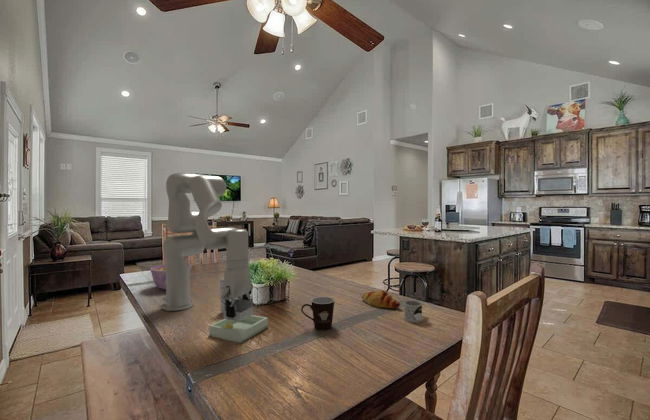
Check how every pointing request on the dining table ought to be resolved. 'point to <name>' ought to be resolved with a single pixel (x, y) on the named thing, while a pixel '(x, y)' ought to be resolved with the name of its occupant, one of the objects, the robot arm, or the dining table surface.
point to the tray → (239, 328)
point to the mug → (413, 311)
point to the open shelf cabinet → (240, 309)
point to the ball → (228, 326)
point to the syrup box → (222, 293)
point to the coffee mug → (321, 312)
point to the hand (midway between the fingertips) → (238, 313)
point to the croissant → (380, 299)
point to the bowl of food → (160, 276)
